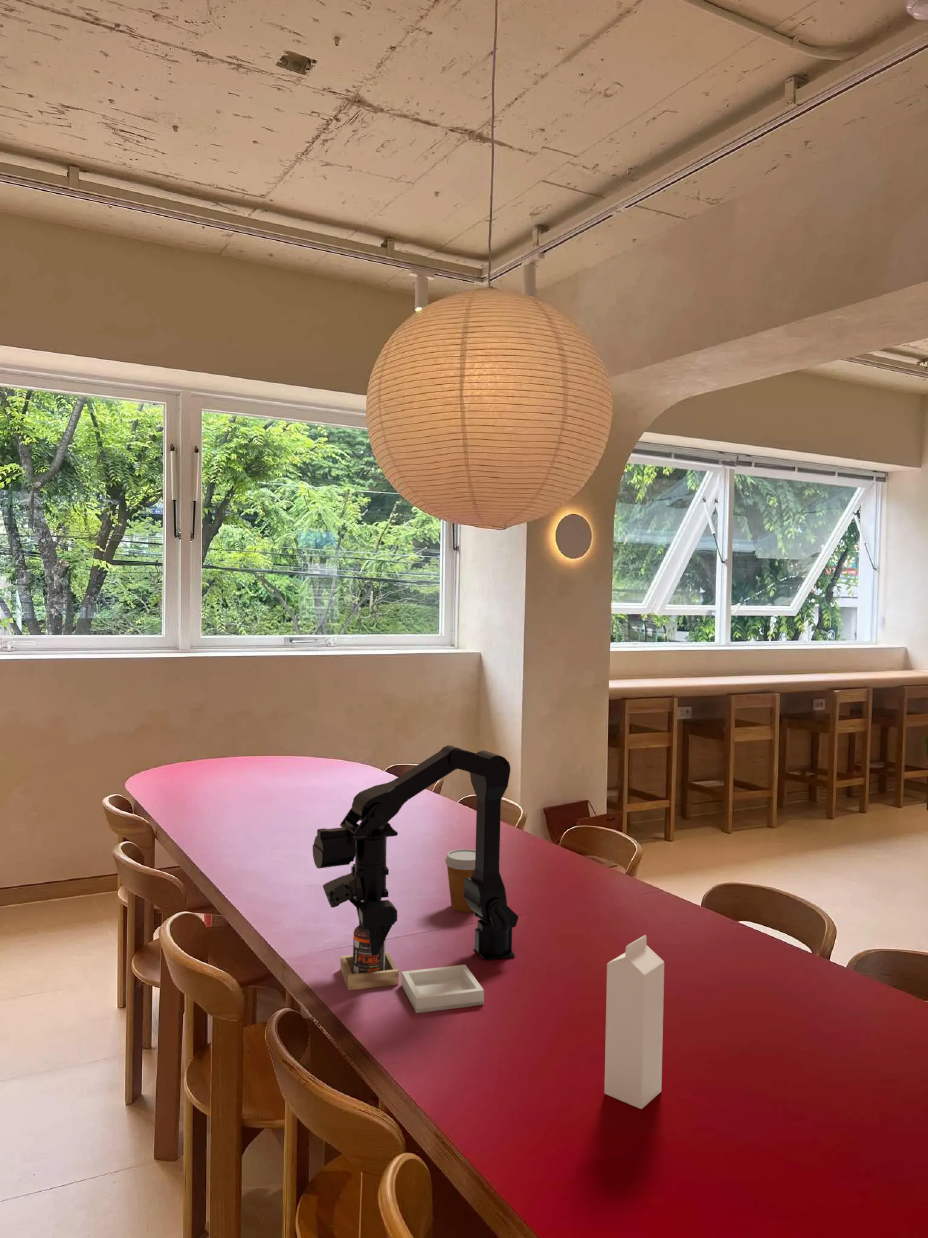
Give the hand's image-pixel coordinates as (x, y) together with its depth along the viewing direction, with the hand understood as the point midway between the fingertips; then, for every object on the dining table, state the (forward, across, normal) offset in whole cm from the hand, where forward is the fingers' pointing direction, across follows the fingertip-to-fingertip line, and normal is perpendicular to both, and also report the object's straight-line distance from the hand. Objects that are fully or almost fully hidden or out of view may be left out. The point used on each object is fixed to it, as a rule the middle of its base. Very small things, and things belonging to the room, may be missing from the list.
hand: (369, 945), depth 164 cm
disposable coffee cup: (+6, -30, +28) cm, 42 cm away
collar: (+6, 0, 0) cm, 6 cm away
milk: (+6, +48, +29) cm, 56 cm away
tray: (+6, +10, +11) cm, 16 cm away
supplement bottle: (+6, 0, 0) cm, 6 cm away
